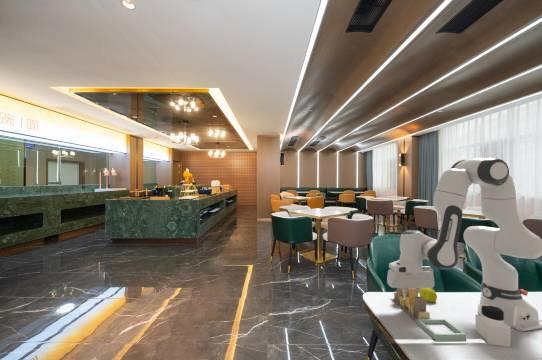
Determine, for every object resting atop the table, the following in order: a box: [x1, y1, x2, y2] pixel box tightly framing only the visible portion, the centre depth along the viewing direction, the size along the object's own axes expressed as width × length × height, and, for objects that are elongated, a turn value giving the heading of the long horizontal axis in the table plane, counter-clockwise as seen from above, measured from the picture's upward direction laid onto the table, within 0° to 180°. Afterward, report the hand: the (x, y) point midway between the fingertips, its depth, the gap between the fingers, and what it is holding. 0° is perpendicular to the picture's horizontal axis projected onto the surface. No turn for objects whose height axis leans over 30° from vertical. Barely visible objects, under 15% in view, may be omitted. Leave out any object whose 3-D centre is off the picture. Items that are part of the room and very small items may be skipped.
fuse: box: [405, 288, 416, 308], centre depth 106 cm, size 3×3×10 cm
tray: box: [415, 318, 467, 343], centre depth 90 cm, size 12×10×3 cm
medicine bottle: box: [474, 305, 512, 348], centre depth 87 cm, size 7×7×12 cm
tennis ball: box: [418, 288, 438, 303], centre depth 115 cm, size 7×7×7 cm
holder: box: [389, 288, 432, 323], centre depth 105 cm, size 19×8×9 cm, turn 3°
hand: (410, 296), depth 106 cm, fingers closed on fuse, 3 cm apart
